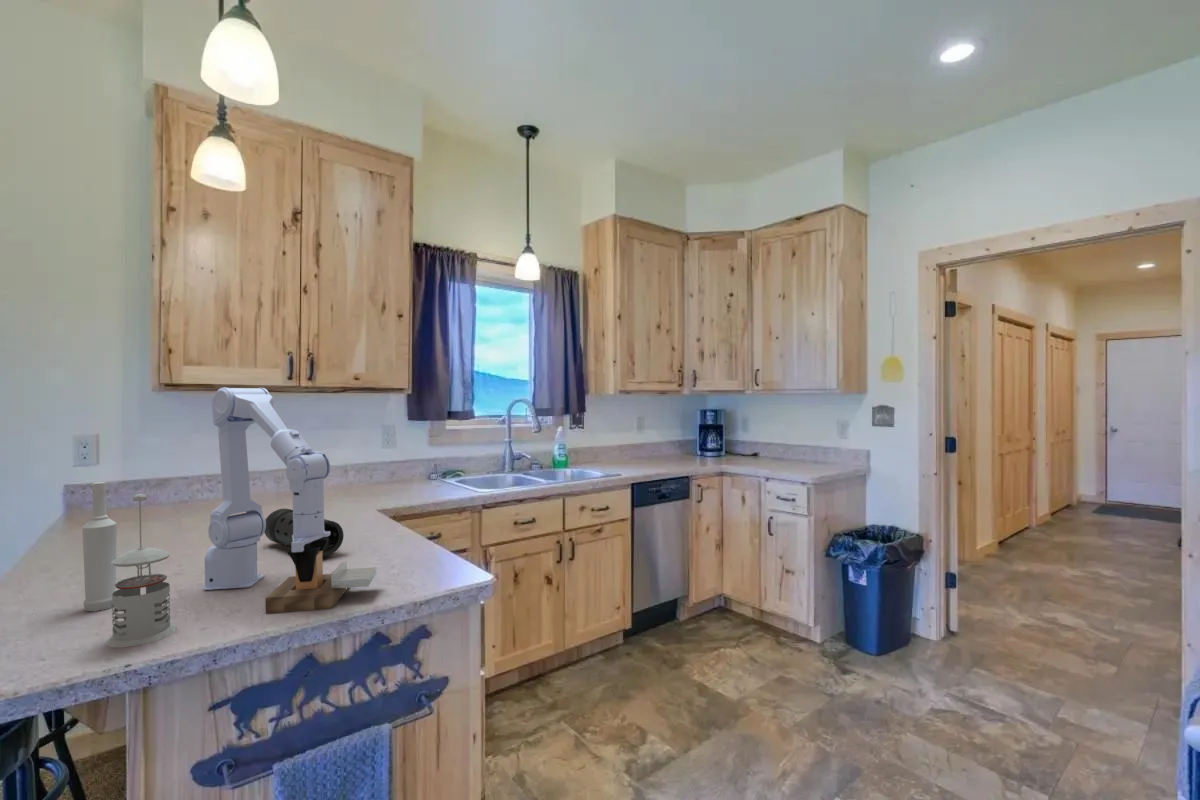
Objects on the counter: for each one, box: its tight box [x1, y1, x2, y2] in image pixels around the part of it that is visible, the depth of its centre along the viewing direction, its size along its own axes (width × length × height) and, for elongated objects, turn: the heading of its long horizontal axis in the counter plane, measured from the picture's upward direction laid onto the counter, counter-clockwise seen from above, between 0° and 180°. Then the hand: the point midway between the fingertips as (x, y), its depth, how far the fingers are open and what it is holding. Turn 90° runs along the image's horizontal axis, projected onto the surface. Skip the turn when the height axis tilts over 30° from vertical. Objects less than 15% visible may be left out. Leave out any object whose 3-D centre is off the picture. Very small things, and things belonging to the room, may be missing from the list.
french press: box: [105, 493, 178, 648], centre depth 100 cm, size 10×12×25 cm
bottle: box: [81, 481, 118, 612], centre depth 113 cm, size 5×5×25 cm
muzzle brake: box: [264, 507, 345, 560], centre depth 153 cm, size 10×28×10 cm, turn 53°
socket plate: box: [264, 573, 347, 614], centre depth 116 cm, size 12×13×3 cm
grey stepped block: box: [330, 561, 377, 589], centre depth 118 cm, size 7×8×3 cm
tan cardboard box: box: [294, 551, 324, 590], centre depth 116 cm, size 4×4×8 cm
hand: (309, 577), depth 116 cm, fingers closed on tan cardboard box, 4 cm apart
